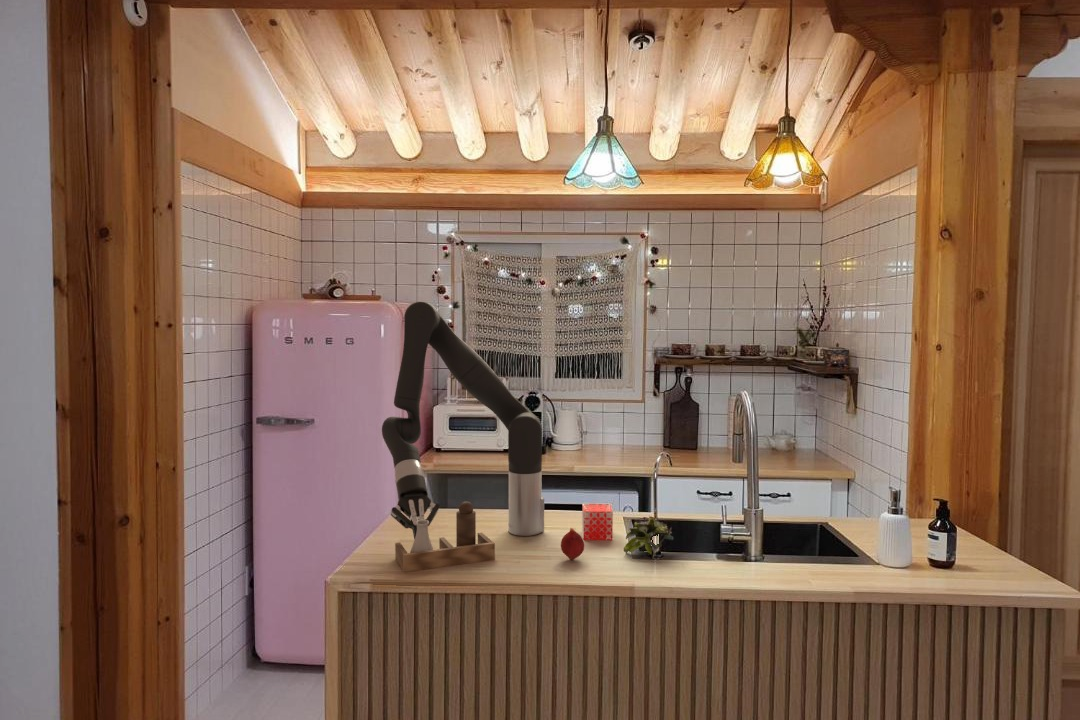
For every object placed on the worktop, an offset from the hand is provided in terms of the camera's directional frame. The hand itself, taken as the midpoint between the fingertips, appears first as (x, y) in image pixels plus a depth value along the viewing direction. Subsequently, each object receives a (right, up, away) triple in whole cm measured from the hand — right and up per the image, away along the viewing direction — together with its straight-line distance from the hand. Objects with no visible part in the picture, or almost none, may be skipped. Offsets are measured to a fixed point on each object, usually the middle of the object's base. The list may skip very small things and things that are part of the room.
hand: (420, 540), depth 172 cm
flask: (+1, -5, -1) cm, 5 cm away
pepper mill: (+11, -5, +3) cm, 12 cm away
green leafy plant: (+57, -5, +5) cm, 58 cm away
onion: (+37, -5, +1) cm, 38 cm away
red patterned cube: (+45, -4, +20) cm, 50 cm away
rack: (+6, -5, +1) cm, 7 cm away
